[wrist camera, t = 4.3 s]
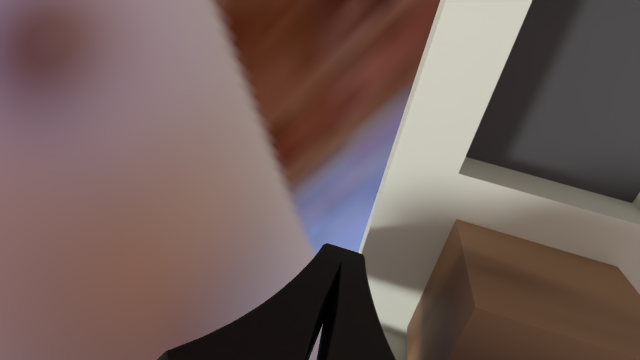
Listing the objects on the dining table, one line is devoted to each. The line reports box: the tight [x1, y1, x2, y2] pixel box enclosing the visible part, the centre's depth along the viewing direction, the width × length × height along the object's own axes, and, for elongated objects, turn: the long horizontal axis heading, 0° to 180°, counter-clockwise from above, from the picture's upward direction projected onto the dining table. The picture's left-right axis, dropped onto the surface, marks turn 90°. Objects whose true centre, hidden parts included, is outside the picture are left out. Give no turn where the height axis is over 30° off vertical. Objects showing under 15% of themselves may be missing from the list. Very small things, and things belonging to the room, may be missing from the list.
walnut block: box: [407, 219, 640, 360], centre depth 11 cm, size 5×5×4 cm
